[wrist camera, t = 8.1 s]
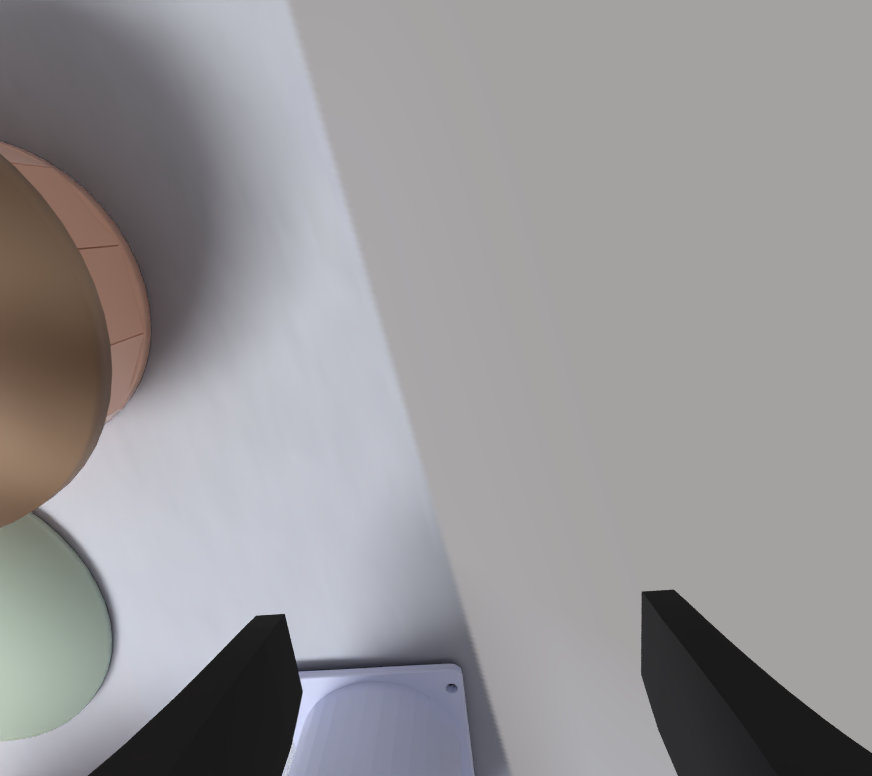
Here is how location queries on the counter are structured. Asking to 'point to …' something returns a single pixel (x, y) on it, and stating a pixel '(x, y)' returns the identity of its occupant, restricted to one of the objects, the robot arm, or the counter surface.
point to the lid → (45, 352)
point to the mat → (47, 631)
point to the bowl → (99, 269)
